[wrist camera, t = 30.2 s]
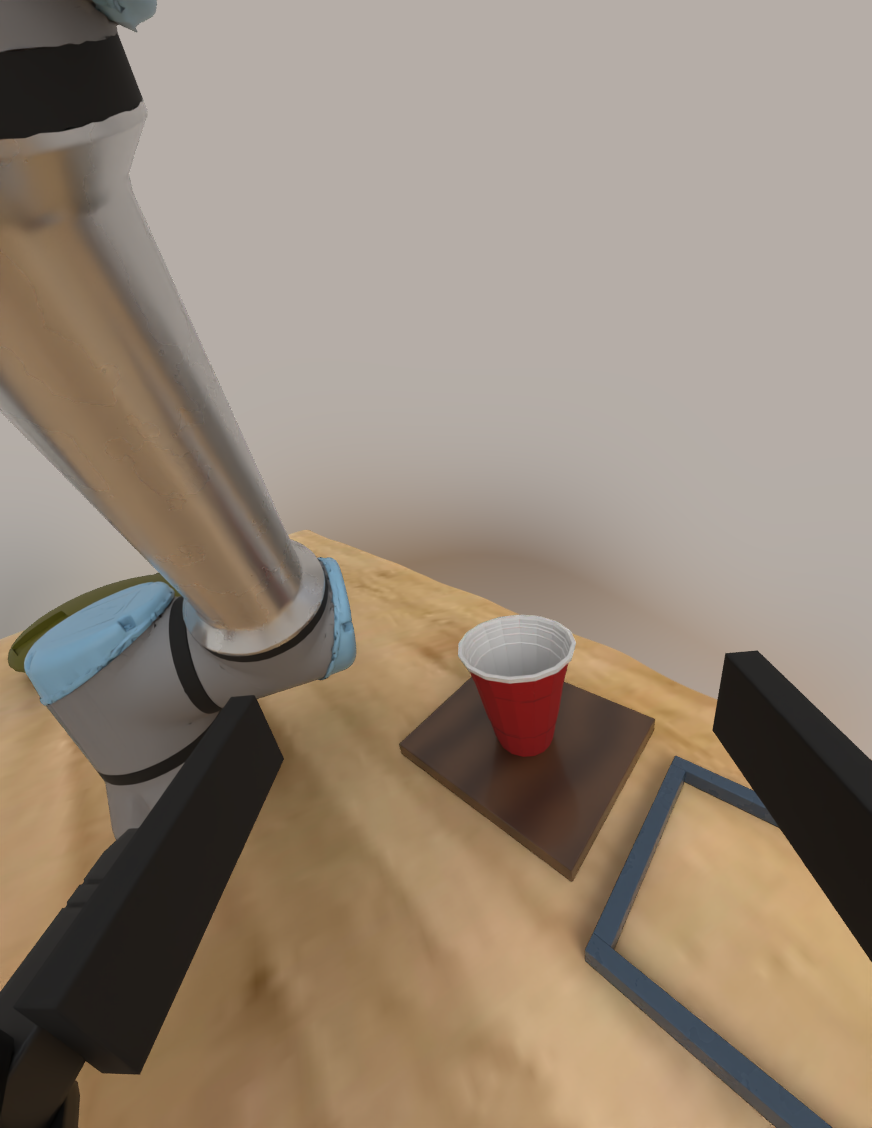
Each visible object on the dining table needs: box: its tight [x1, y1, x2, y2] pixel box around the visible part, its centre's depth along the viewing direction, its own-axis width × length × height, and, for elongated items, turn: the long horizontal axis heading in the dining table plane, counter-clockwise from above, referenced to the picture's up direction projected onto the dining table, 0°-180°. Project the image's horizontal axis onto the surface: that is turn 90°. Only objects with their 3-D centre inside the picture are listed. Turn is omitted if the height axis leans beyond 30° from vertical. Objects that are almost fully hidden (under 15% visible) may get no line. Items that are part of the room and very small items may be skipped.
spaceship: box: [8, 573, 182, 673], centre depth 80 cm, size 35×31×10 cm
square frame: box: [585, 756, 832, 1128], centre depth 27 cm, size 18×18×2 cm
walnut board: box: [399, 677, 655, 881], centre depth 43 cm, size 20×18×2 cm
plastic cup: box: [458, 615, 576, 757], centre depth 41 cm, size 11×11×12 cm
